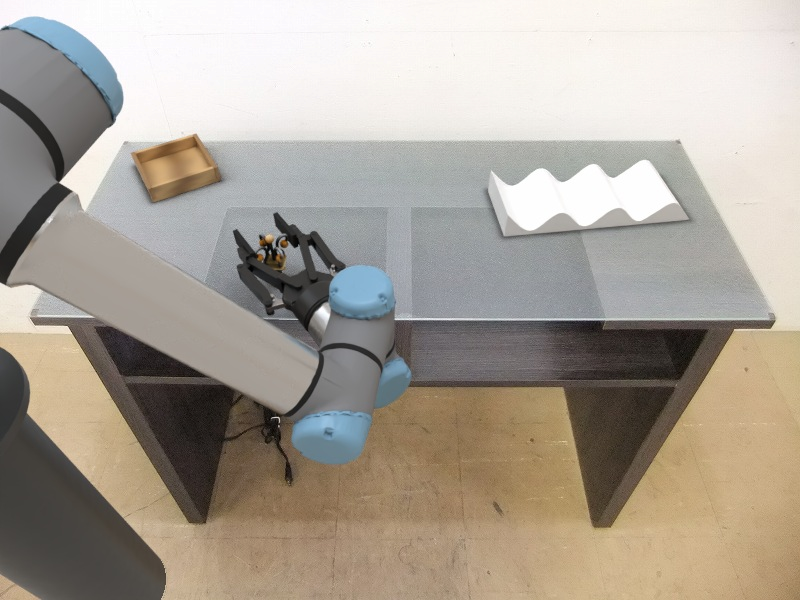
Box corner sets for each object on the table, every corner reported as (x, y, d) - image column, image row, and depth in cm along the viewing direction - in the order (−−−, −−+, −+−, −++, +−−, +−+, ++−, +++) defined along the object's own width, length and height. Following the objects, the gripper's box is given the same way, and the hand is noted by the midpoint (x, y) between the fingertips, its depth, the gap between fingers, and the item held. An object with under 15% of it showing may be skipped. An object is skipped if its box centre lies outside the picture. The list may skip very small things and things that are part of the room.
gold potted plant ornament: (256, 281, 97) (251, 244, 91) (262, 260, 100) (258, 223, 94) (285, 284, 97) (283, 247, 91) (290, 263, 100) (288, 226, 94)
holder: (153, 202, 115) (147, 189, 112) (135, 166, 122) (130, 152, 120) (221, 180, 119) (217, 166, 117) (200, 146, 127) (196, 133, 124)
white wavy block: (689, 219, 110) (699, 197, 106) (503, 236, 108) (507, 214, 104) (659, 176, 119) (668, 155, 115) (487, 191, 116) (490, 169, 112)
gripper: (272, 364, 83) (206, 268, 96) (386, 304, 91) (311, 222, 103) (262, 331, 78) (193, 233, 90) (385, 269, 85) (306, 187, 97)
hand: (256, 227), depth 97 cm, fingers closed on gold potted plant ornament, 6 cm apart
